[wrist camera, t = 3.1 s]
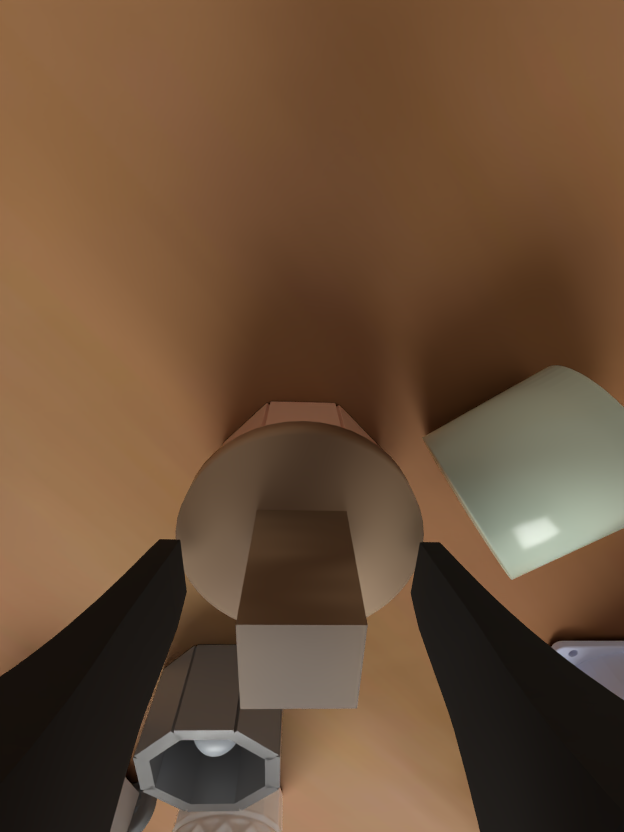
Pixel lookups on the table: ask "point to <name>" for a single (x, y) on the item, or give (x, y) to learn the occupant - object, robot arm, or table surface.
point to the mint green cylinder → (538, 467)
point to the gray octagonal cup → (207, 737)
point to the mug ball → (214, 747)
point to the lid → (299, 555)
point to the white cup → (236, 818)
